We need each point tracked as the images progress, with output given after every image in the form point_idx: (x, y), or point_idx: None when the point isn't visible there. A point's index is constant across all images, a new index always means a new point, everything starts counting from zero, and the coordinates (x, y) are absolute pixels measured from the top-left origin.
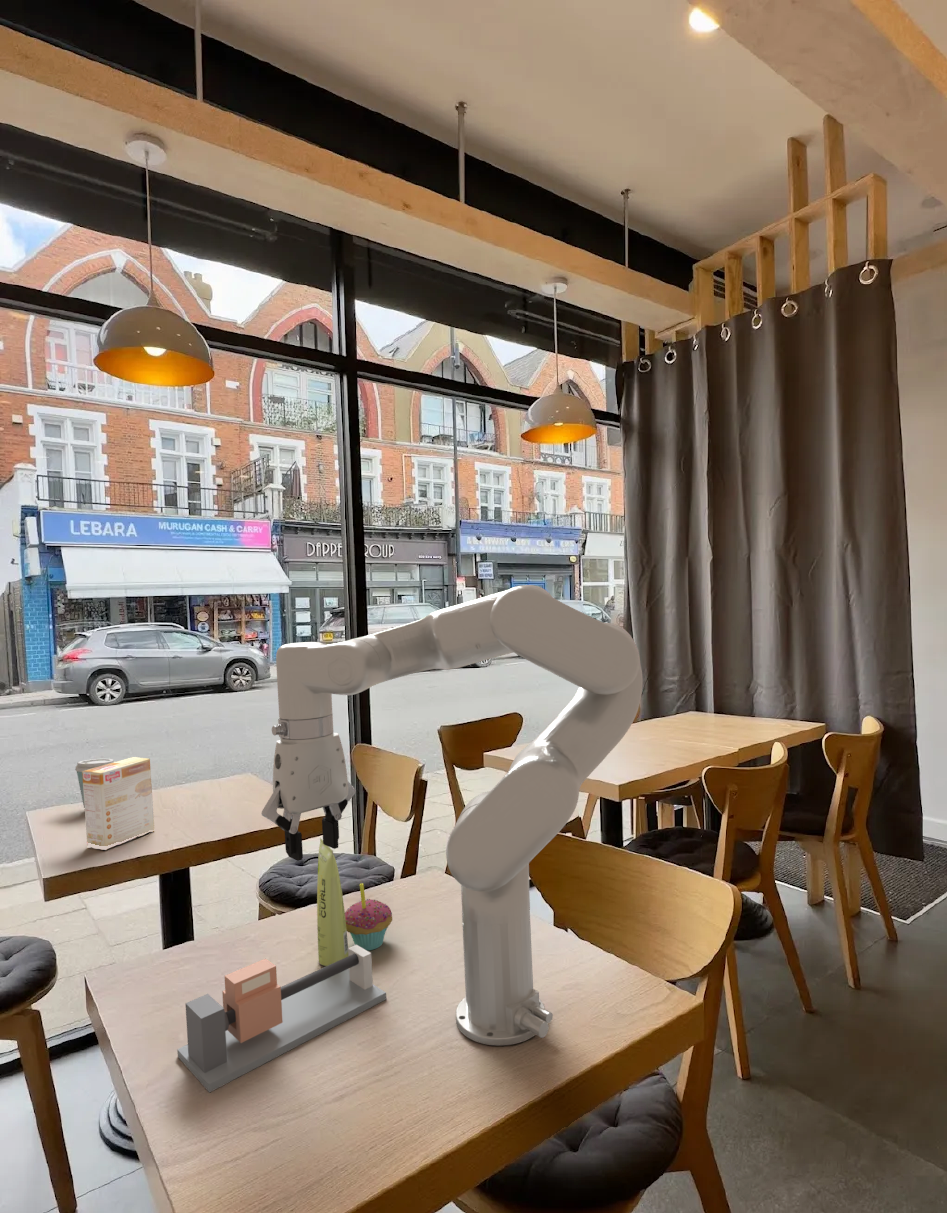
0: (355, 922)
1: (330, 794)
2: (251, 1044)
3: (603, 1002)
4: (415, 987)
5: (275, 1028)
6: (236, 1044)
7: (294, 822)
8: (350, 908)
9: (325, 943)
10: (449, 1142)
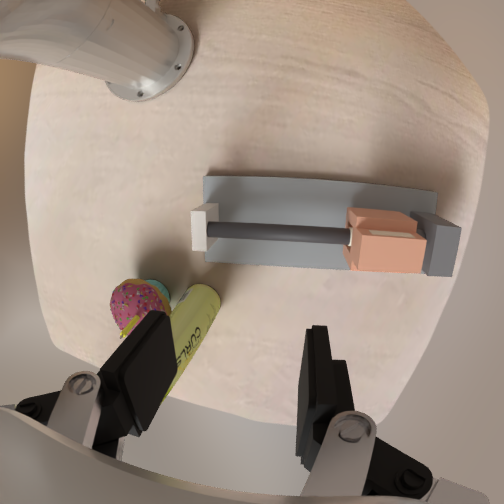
0: (159, 307)
1: (31, 494)
2: None
3: None
4: (166, 170)
5: (345, 220)
6: None
7: (350, 460)
8: None
9: (210, 308)
10: None
